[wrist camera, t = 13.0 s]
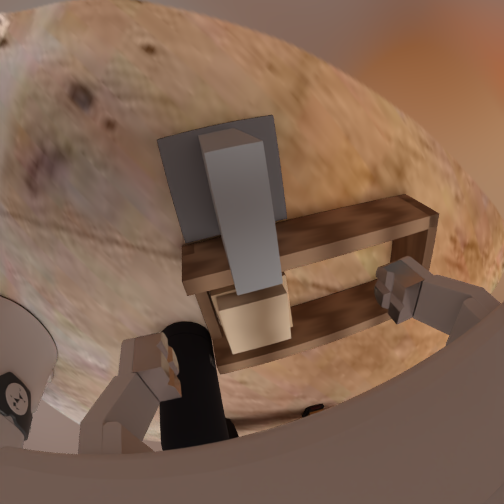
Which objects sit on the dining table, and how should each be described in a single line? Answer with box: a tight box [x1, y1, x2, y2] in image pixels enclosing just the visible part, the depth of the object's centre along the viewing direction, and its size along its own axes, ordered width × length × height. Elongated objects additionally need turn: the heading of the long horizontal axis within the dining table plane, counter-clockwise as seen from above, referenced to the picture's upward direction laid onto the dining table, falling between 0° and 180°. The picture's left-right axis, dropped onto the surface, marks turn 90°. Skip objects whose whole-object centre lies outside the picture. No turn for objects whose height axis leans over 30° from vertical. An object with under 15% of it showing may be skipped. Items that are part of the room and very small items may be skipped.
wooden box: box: [182, 194, 439, 374], centre depth 29 cm, size 26×13×6 cm, turn 99°
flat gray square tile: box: [157, 115, 287, 243], centre depth 24 cm, size 10×10×1 cm
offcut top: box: [216, 284, 291, 354], centre depth 26 cm, size 6×6×2 cm
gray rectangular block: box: [198, 128, 283, 295], centre depth 20 cm, size 3×9×10 cm, turn 9°
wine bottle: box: [160, 322, 229, 451], centre depth 20 cm, size 6×6×30 cm
